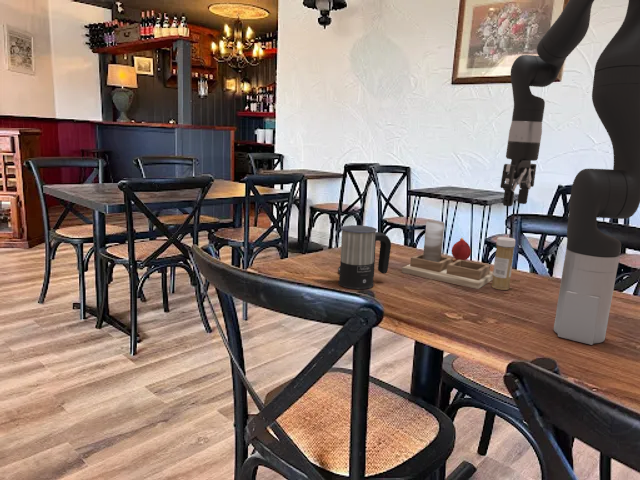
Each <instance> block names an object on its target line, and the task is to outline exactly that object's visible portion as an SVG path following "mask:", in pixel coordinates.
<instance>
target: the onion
mask: <svg viewBox="0 0 640 480" xmlns="http://www.w3.org/2000/svg"><path fill="white" fill-rule="evenodd" d="M471 254H472V249H471V246H470V244H468V242H467V241H466V240H465V239H464V238H463V237H460V238H459V240H458V241H457V242H456V243H455V242H454V244H453V246H452V247H451V255H452V258H454V259H455V261H457V260H459V259H460V260H465V261H467V260H468V259H469V258H470V256H471Z"/></svg>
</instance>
